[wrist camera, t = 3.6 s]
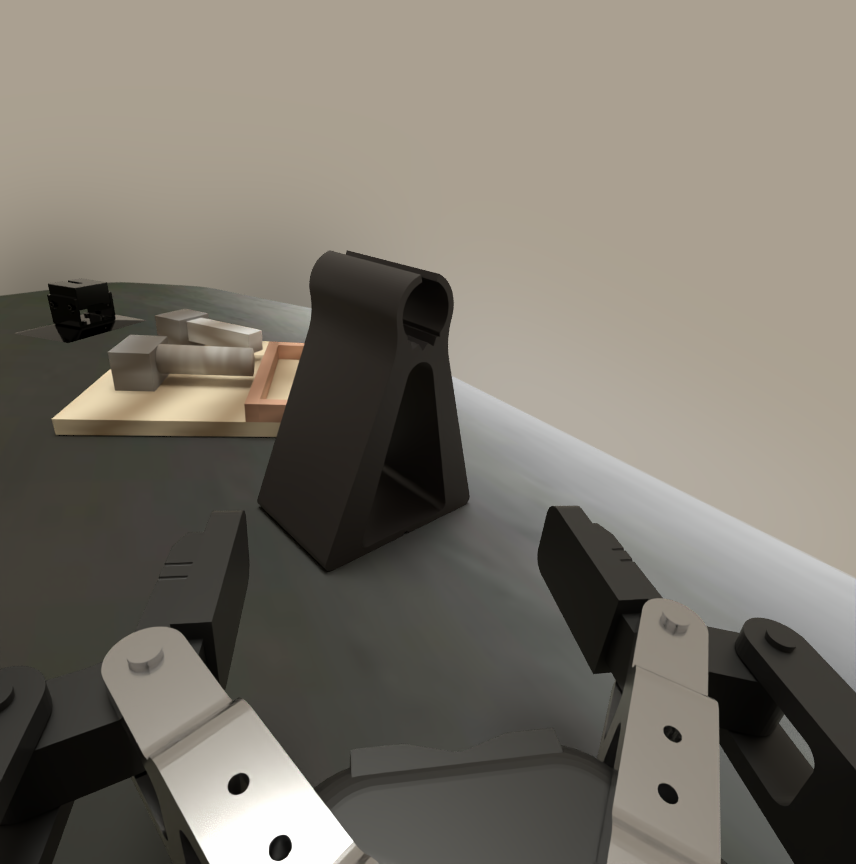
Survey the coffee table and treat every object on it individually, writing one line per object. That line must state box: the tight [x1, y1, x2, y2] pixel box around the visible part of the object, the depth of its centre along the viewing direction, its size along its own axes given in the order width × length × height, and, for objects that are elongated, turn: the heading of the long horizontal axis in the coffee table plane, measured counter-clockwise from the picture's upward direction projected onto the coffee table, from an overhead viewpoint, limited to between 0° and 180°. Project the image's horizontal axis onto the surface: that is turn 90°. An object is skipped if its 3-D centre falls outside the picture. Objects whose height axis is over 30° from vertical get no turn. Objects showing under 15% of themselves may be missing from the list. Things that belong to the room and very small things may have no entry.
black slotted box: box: [15, 279, 146, 343], centre depth 47 cm, size 12×7×5 cm, turn 166°
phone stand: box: [257, 251, 469, 571], centre depth 23 cm, size 9×6×12 cm, turn 133°
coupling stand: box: [52, 309, 304, 437], centre depth 38 cm, size 21×17×4 cm
